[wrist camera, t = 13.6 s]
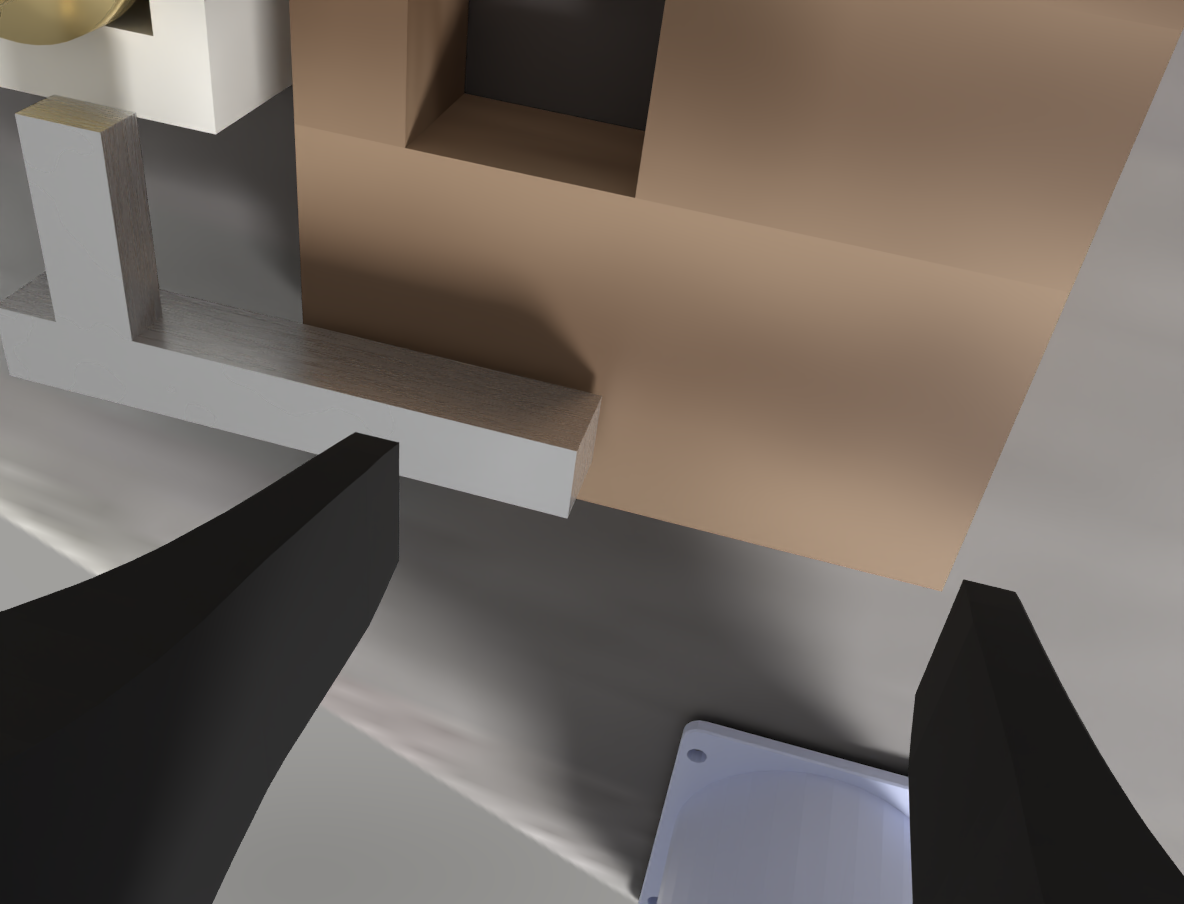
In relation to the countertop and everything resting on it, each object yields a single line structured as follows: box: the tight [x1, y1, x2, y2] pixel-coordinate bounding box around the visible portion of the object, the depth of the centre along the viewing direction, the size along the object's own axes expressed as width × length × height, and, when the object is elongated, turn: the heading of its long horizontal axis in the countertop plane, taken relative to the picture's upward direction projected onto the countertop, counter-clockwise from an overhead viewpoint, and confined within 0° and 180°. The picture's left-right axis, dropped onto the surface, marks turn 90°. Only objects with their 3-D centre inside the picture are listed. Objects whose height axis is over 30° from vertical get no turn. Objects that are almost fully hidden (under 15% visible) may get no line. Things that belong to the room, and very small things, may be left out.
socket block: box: [289, 0, 1184, 591], centre depth 19 cm, size 12×13×3 cm
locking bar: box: [0, 94, 602, 519], centre depth 19 cm, size 5×11×2 cm, turn 84°
